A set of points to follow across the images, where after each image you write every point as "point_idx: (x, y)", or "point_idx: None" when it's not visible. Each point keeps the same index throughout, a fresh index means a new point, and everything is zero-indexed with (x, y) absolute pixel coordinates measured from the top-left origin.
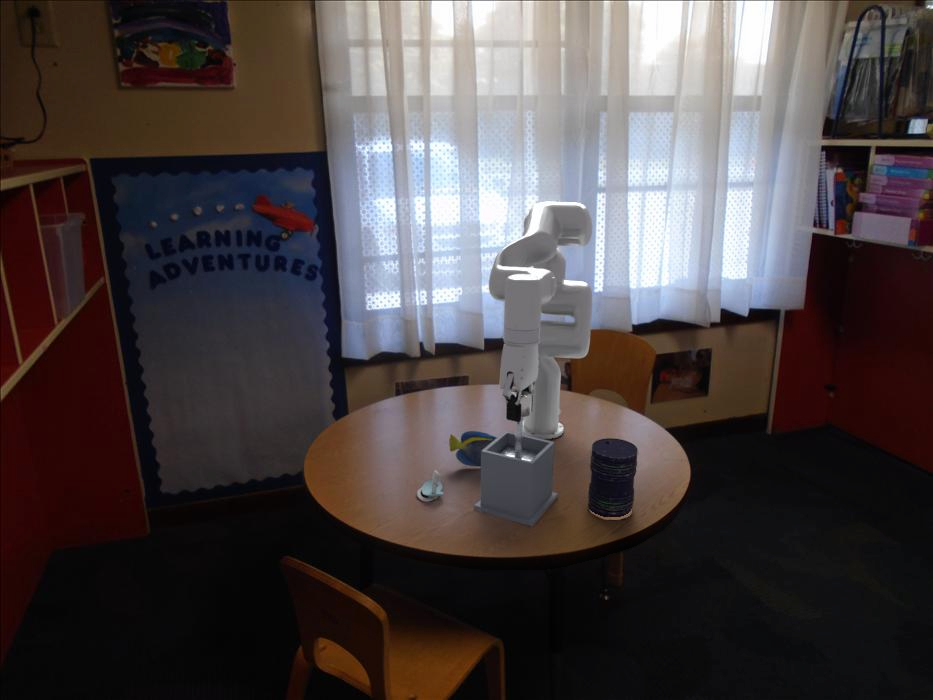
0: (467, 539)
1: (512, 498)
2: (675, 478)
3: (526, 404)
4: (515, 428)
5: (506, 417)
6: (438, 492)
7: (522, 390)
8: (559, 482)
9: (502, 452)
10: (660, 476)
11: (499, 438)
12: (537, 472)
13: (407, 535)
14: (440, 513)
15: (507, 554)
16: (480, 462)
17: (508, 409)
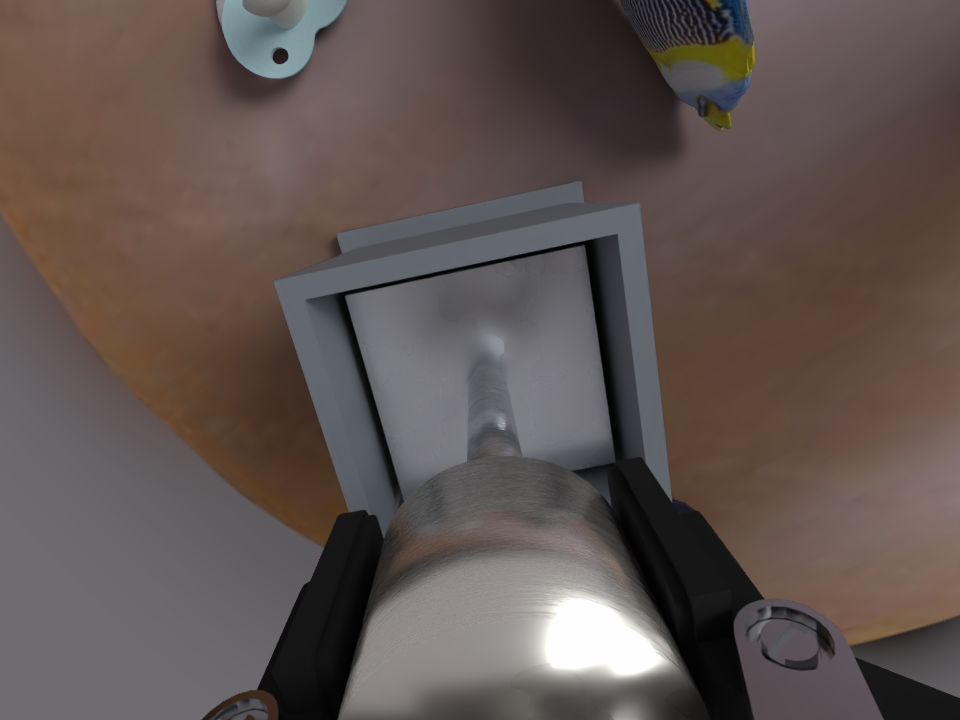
0: (189, 341)
1: None
2: (943, 602)
3: None
4: (471, 460)
5: (337, 521)
6: (302, 32)
7: (738, 694)
8: (711, 350)
9: (493, 273)
10: (935, 567)
11: (506, 250)
12: None
13: (30, 164)
14: (223, 150)
15: (232, 475)
16: (622, 5)
17: (276, 646)
